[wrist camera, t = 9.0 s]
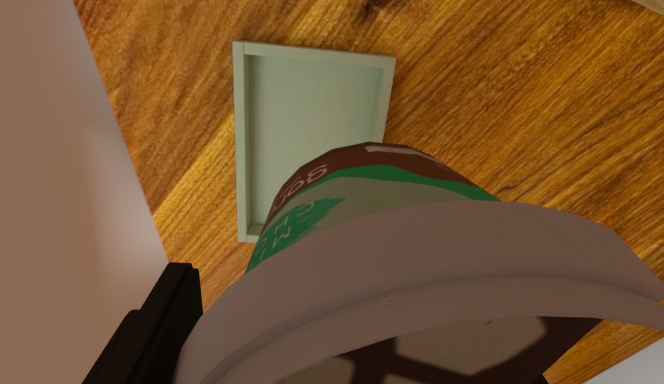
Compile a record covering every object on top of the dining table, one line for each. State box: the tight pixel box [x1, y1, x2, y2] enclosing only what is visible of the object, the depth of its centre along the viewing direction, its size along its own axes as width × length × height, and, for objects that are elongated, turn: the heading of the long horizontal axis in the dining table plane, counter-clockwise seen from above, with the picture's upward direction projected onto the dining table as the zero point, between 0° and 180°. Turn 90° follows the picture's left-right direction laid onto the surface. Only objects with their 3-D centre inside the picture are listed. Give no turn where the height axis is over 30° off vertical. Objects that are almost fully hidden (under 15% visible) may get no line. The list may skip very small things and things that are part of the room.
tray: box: [232, 40, 397, 243], centre depth 28 cm, size 12×17×3 cm
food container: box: [171, 142, 664, 384], centre depth 10 cm, size 12×6×10 cm, turn 153°
